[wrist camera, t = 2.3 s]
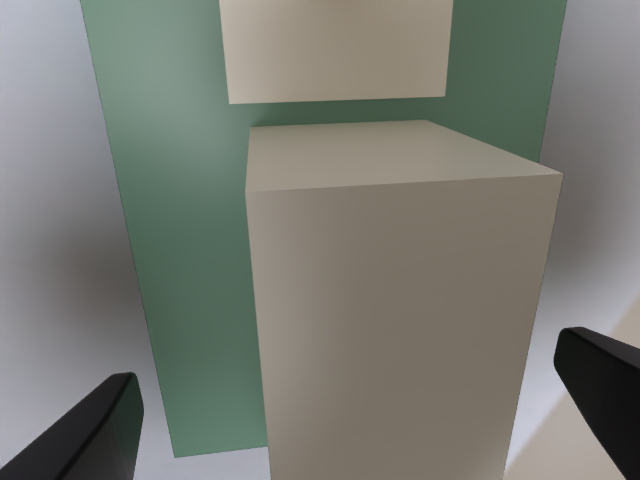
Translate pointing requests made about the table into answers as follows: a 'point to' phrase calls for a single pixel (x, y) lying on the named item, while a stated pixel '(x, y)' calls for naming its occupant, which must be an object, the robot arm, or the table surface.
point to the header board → (277, 110)
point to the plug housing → (393, 296)
